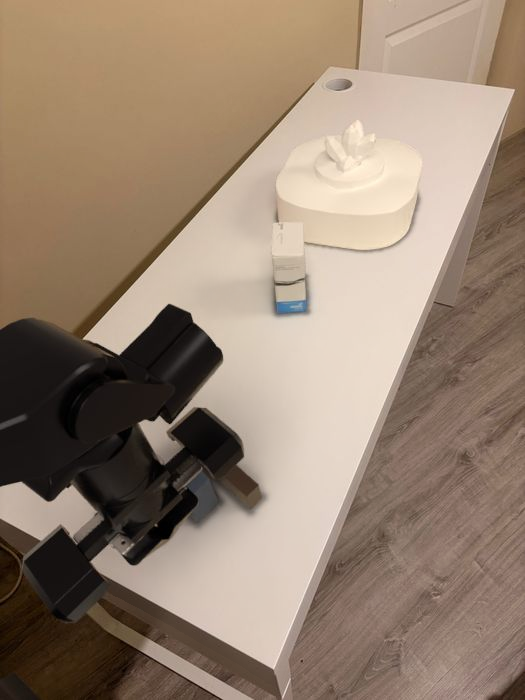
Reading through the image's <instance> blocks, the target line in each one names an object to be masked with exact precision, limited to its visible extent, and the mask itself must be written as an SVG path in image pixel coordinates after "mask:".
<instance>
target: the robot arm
mask: <svg viewBox="0 0 525 700" xmlns="http://www.w3.org/2000/svg"><path fill="white" fill-rule="evenodd" d="M223 363H224V354H223V350H222V349H221V347H219V346H217V344H216V342H214V340H213V339H212V337H210V335H209V334H208V333H207V332H206V331H205V330H204V329H203V328H202V327H200V326H199V325H198V324H197V323H196V322H194V319H193V316H192V313H191V312H190V311H188V310H186V309H183V308H181V307H179V306H176V305H174V304H173V303H167V304H166V305H165V306H164V307H163V308H162V309H161V310H160V311H159V312H158V313H157V315H156V316H155V317H154V318H153V320H152V322H151V323H150V324H149V325H148V326H146V328H144V330H143V331H142V332H140V333H139V335H137V337H136V338H135V339H134V340H133V341H132V342H131V343H129V344H128V346H127V347H125V348H124V349H123V351H122V352H121V353H120V354H119V353H116V352H114V351H113V350H111V349H110V348H109V349H108V348H107V347H105V346H103V345H101V344H99V343H97V342H94V341H92V340H89V339H84V338H81V337H79V336H77V335H75V334H73V333H72V332H70V331H68V330H66V329H64V328H63V327H60V326H59V325H57V324H55V323H53V322H51V321H46V320H44V319H37V318H36V317H26V318H21V319H18V320H15V321H13V322H10V323H8V324H7V325H5V326H3V327H2V328H0V488H1V487H5V486H10V485H14V484H17V483H18V484H19V483H22V484H23V485H25V486H26V487H27V488H28V489H29V490H31V491H32V492H33V493H35V494H36V495H38V496H39V497H40V498H41V499H43V500H44V501H45V502H47V503H51V502H53V501H55V500H56V499H57V498H58V496H59V495H60V494H62V492H63V491H65V490H66V488H67V489H69V488H71V486H72V487H73V488H74V489H75V490H76V491H77V492H78V493H79V494H80V496H82V498H83V499H84V500H85V501H86V502H88V504H89V505H90V507H92V508H93V510H94V511H95V514H94V515H93V517H92V518H90V519H89V521H88V522H86V523H85V524H84V525H83V526H82V527H81V528H80V529H78V530H77V531H76V532H75V533H74V534H73V536H71V535H70V532H69V530H67V528H66V527H65V526H64V525H62V524H61V523H60V524H59V525H58V526H56V527H55V528H54V529H53V530H52V531H51V532H50V533H48V534H47V535H46V536H45V537H44V538H43V539H41V541H39V542H38V543H37V544H36V545H34V547H32V548H31V549H30V550H29V551H28V552H27V553H26V554H24V555H23V558H22V565H21V572H22V573H23V575H24V576H25V578H26V580H27V581H28V582H29V584H30V585H31V587H32V589H33V590H34V591H35V593H36V594H37V595H38V597H39V598H40V600H41V601H42V603H43V604H44V606H45V607H46V608H47V610H48V611H49V612H50V613H51V614H52V616H53V617H54V618H55V619H56V620H58V621H60V622H63V623H64V624H75V623H78V621H80V620H81V619H82V617H84V615H86V614H87V613H88V612H89V611H90V610H91V609H92V608H93V607H94V606H95V605H96V604H97V603H98V602H99V601H100V600H101V599H102V598H103V597H104V596H105V595H106V592H107V590H108V588H109V586H110V582H109V581H108V579H106V578H105V576H103V575H102V574H101V572H99V570H98V568H96V567H95V565H94V564H93V563H92V561H93V560H94V559H95V558H96V557H97V556H98V555H99V554H100V553H101V552H102V551H103V550H104V549H105V548H107V546H109V545H110V547H111V548H112V549H113V550H116V551H117V552H118V553H119V554H120V556H122V558H123V559H124V560H125V561H126V562H127V564H129V565H130V566H133V567H135V566H138V565H139V564H141V563H142V562H143V560H145V559H146V558H147V557H149V556H150V555H152V553H154V552H155V551H157V550H159V549H160V548H162V547H164V546H165V545H167V544H168V542H169V541H171V540H172V538H174V536H175V535H176V534H177V532H178V530H179V529H180V528H181V526H182V525H183V524H184V522H186V520H187V519H188V517H189V516H190V513H191V512H192V511H193V510H194V509H195V508H196V507H197V505H198V502H199V501H198V498H197V496H196V495H195V494H194V493H193V492H192V491H191V490H190V489H189V488H188V487H187V486H186V485H187V484H188V483H189V482H190V481H191V480H192V479H193V478H194V477H195V476H197V475H198V474H199V473H200V472H201V471H202V472H203V467H204V468H205V469H206V470H207V471H208V473H209V475H210V477H211V478H212V479H213V480H215V481H217V480H218V479H220V478H223V477H224V476H225V475H226V474H227V473H228V472H229V471H230V470H231V469H232V468H233V467H234V466H236V465H237V466H238V464H239V463H240V462H241V461H242V460H243V459H244V458H245V447H244V442H243V440H242V438H241V437H240V436H239V434H238V433H237V432H236V431H235V430H234V429H233V428H231V427H230V426H229V425H227V424H226V423H225V422H224V421H222V420H221V419H220V418H219V417H218V416H217V415H215V414H214V413H213V412H212V411H210V410H209V409H208V408H207V407H199V406H198V407H197V406H194V407H192V408H191V409H190V410H189V411H188V412H187V413H185V414H184V415H183V416H182V417H181V418H180V419H178V421H176V422H175V420H176V419H177V418H178V416H180V414H181V413H182V412H183V411H184V410H185V408H186V407H187V406H188V405H189V403H190V402H191V401H192V400H193V399H194V398H195V396H197V394H198V393H199V392H200V391H201V390H202V388H203V387H204V386H205V385H206V384H207V383H208V381H209V380H210V379H211V378H212V376H213V375H214V374H215V373H216V372H217V371H218V370H219V369H220V368H221V366H222V365H223ZM159 417H160V418H161V419H162V420H163V421H164V422H165V423H166V424H167V425H172V424H173V423H174V422H175V423H174V424H173V425H172V426H171V427H169V428H168V429H167V430H166V432H165V433H166V435H167V437H168V438H169V439H170V440H171V441H172V442H176V443H177V444H178V445H180V446H181V447H182V448H181V449H180V450H179V451H177V453H176V454H175V455H174V456H173V457H172V458H170V459H169V460H168V461H167V462H166V463H165V461H164V459H163V458H161V456H159V455H158V454H157V453H156V452H155V450H154V448H153V446H152V445H151V443H150V441H149V440H148V438H147V436H146V434H145V432H144V430H143V429H142V427H141V425H140V423H142V422H143V421H147V422H151V423H154V422H156V420H157V419H158V418H159ZM186 471H187V472H186ZM183 474H184V475H183ZM0 700H42V699H41V698H40V696H38V694H36V692H35V691H34V690H33V689H32V688H31V687H30V686H29V685H28V684H27V683H26V682H25V681H24V680H23V679H22V678H21V676H19V675H18V674H17V673H16V672H12V673H10V674H9V675H6V676H5V677H2V678H0Z"/></svg>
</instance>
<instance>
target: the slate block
mask: <svg viewBox="0 0 525 700" xmlns="http://www.w3.org/2000/svg"><path fill="white" fill-rule="evenodd" d="M186 472H187V471H186ZM183 475H184V474H183ZM186 486H187V487H188V488H189V489H190V490H191V491H192V492H193V493H194V494H195V495H196V496H197V498H198V501H199V502H198V505H197V507H196V508H195V509H194V510H193V511H192V512H191V513H190V515H189V516H190V517H191V518H192V519H193V520H194V521H195V522H196V523H197V524H199V523H200V522H202V520H203V519H204V518H206V517H207V515H208V514H209V513H210V512H211V511H212V510H213V509H214V508H215V507H216V506H218V505H219V499H218V496H217V495H216V492H215V489H214V487H213V485H212V483H211V480H210V478H209V477H208V476H207V475H206V474H205V473H204V472H203V470H202V471H201V472H200V473H199V474H198V475H197V476H195V477H194V478H193V479H192V480H191V481H190V482H189V483H188V484H187V485H186Z"/></svg>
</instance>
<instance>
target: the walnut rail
mask: <svg viewBox="0 0 525 700" xmlns="http://www.w3.org/2000/svg"><path fill="white" fill-rule="evenodd" d="M217 480H218V481H219V482H220V483H222V485H223V486H225V488H227V490H229V491H230V492H231V493H232V494H233V495H234V496H235V497H236V498H237V499H238V500H239V501H241V503H242V504H243V505H244V506H246V507H247V508H248V510H250V511H251V510H252V509H253V508H254V507H255V506H256V505H257V504H258V503H259V502H260V501H261V500H262V493H261V489H260V485H259V483H257V482H256V481H255V480H254V478H252V477H251V476H250V475H248V474H247V473H246V472H245V471H244V470H243V469H242V468H241V467H240V466H238V464H237V465H236V466H234V467H233V468H232V469H231V470H230V471H229V472H228V473H227V474H226V475H225V476H224V477H223V478H220V479H217Z"/></svg>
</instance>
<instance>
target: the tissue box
mask: <svg viewBox="0 0 525 700" xmlns="http://www.w3.org/2000/svg"><path fill="white" fill-rule="evenodd" d="M423 164H424V163H423V158H422V156H421V154H420V153H419V152H418V151H417V150H416V149H414V148H413V147H412V146H410V145H408V144H406V143H404V142H402V141H399V140H396V139H393V138H392V139H391V138H383V137H382V138H381V137H379V138H378V137H376V135H375V133H374V132H371V133H368V134H366V135H365V129H364V125H363V124H362V122H361V121H360V120H359V118H357V119H356V120H354V121H353V122H352V123H350V124H349V126H347V127H345V128H344V130H343V133H342V134H328V135H321V136H318V137H315V138H312V139H308V140H307V141H303V142H301V143H299V144H298V145H297V146H296V147H294V149H292V151H291V152H290V154H289V156H288V158H287V160H286V162H285V164H284V165H283V167H282V168H281V171H280V172H279V173H278V175H277V177H276V180H275V196H276V208H277V220H278V222H303V228H304V243H309V244H315V245H321V246H328V247H334V248H335V247H336V248H342V249H349V250H356V251H370V250H379V249H383V248H387V247H390V246H392V245H394V244H396V243H397V242H399V241H400V240H401V239H403V238H404V237H405V235H406V234H407V233H408V232H409V229H410V227H411V223H412V219H413V215H414V212H415V207H416V205H417V199H418V193H419V188H420V181H421V175H422V170H423Z"/></svg>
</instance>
